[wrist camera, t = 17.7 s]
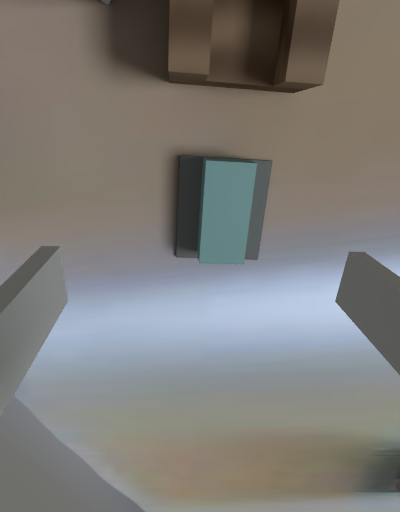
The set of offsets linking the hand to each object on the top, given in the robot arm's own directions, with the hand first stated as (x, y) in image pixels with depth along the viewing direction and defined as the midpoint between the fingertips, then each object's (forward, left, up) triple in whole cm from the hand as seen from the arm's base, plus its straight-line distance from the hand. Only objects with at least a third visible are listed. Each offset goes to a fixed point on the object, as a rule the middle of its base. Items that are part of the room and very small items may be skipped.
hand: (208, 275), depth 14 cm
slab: (+4, +5, -28) cm, 28 cm away
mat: (+4, +5, -28) cm, 29 cm away
